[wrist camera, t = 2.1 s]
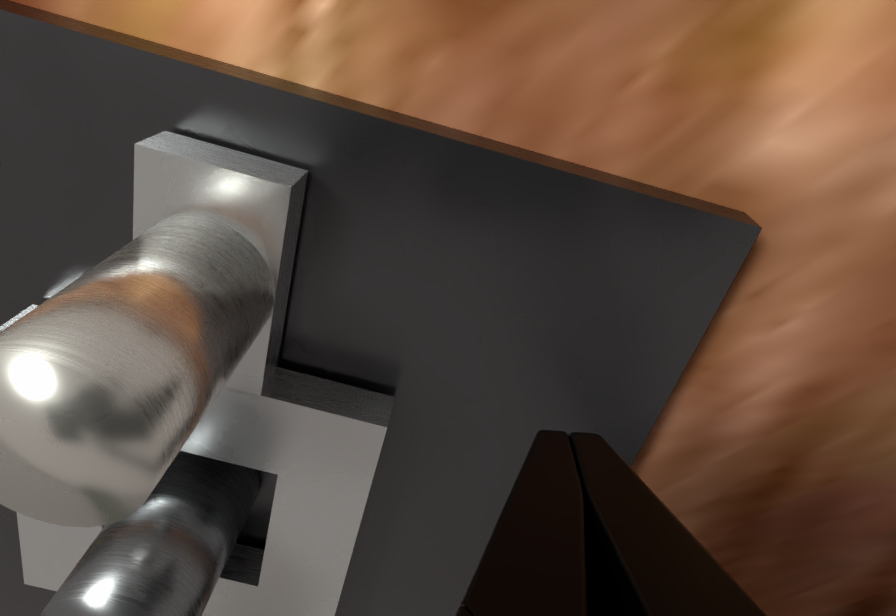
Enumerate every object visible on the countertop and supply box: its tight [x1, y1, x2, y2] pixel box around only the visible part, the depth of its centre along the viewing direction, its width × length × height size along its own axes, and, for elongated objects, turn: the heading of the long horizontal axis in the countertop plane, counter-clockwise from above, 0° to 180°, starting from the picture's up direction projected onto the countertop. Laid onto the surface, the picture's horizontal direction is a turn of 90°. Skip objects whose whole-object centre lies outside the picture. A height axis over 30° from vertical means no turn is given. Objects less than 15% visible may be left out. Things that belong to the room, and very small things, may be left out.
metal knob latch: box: [0, 131, 395, 616], centre depth 13 cm, size 14×9×6 cm, turn 165°
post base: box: [0, 0, 762, 616], centre depth 15 cm, size 22×22×6 cm
